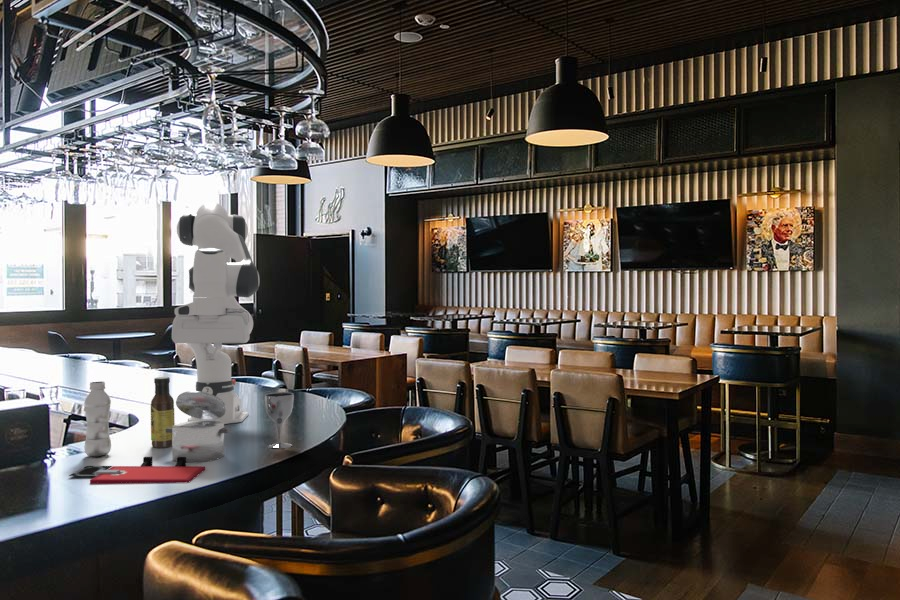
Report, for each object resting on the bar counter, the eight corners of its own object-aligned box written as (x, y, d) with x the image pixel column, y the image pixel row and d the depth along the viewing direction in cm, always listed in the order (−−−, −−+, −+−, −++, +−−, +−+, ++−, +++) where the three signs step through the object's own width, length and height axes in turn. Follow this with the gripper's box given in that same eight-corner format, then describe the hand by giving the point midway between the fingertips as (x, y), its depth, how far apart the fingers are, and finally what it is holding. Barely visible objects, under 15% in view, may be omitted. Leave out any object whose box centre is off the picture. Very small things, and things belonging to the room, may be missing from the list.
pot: (181, 449, 184) (181, 419, 184) (239, 450, 183) (239, 420, 183) (156, 462, 170) (155, 429, 170) (219, 463, 169) (218, 430, 169)
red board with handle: (90, 467, 166) (56, 485, 151) (90, 456, 166) (56, 473, 151) (210, 467, 167) (188, 486, 152) (210, 456, 167) (188, 474, 152)
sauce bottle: (154, 444, 192) (154, 376, 191) (177, 443, 193) (176, 375, 192) (148, 449, 185) (147, 378, 185) (171, 448, 186) (171, 378, 186)
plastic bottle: (106, 451, 182) (106, 380, 182) (114, 455, 177) (114, 382, 177) (81, 455, 178) (80, 382, 178) (88, 460, 173) (88, 384, 173)
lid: (185, 419, 183) (189, 410, 185) (231, 419, 182) (234, 410, 184) (168, 394, 173) (172, 384, 175) (216, 394, 172) (219, 384, 174)
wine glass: (286, 450, 183) (286, 396, 183) (260, 448, 185) (259, 395, 185) (298, 443, 191) (298, 392, 191) (273, 442, 193) (272, 391, 193)
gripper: (253, 308, 178) (253, 359, 178) (179, 308, 179) (180, 359, 179) (244, 308, 171) (244, 361, 171) (168, 309, 173) (168, 361, 173)
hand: (211, 360), depth 175 cm, fingers closed
